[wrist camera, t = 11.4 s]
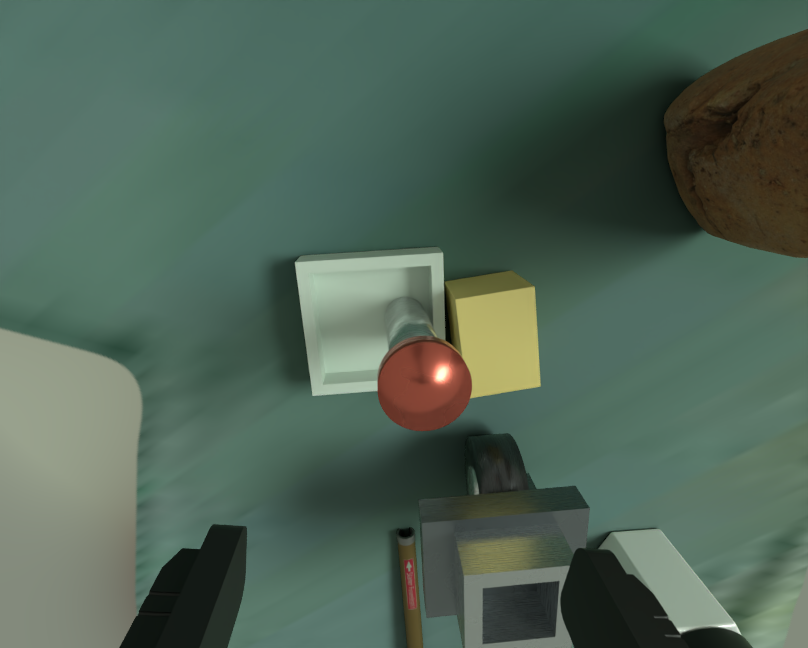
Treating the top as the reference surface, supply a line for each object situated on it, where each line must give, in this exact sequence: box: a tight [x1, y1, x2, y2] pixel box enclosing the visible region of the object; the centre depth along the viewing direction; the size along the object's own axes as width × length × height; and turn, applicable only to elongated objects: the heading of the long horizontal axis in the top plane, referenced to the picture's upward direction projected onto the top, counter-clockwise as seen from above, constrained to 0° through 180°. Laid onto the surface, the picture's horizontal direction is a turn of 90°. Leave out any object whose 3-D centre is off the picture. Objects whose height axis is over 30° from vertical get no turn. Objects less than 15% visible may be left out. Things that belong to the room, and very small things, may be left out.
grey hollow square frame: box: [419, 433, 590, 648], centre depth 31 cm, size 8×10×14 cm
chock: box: [444, 271, 540, 398], centre depth 31 cm, size 7×5×5 cm
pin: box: [377, 297, 472, 431], centre depth 27 cm, size 4×4×12 cm
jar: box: [598, 529, 753, 648], centre depth 37 cm, size 9×8×12 cm
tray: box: [295, 247, 445, 396], centre depth 32 cm, size 10×10×2 cm
